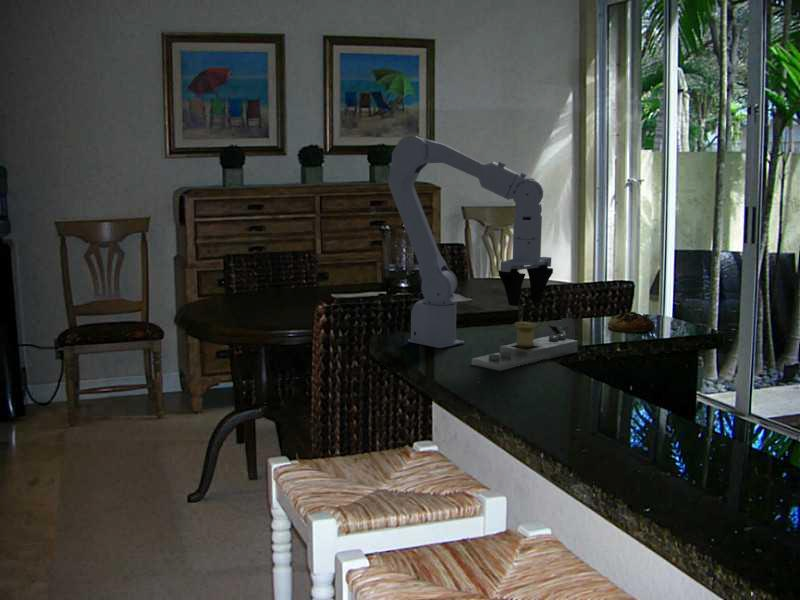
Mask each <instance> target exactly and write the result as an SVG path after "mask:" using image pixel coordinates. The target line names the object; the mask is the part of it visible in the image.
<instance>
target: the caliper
mask: <svg viewBox="0 0 800 600" xmlns="http://www.w3.org/2000/svg"><path fill="white" fill-rule="evenodd" d="M548 325H549V326H550V327H552V328H558V327H559V328H561V331H564V334H565V335H566V339H571V340H574V339H573V337H574V320H573V313H571V312H569V313H568V312H567V313H566V315H565V318H564V317H563V318H561V320H549V323H548Z"/></svg>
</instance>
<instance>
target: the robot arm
mask: <svg viewBox="0 0 800 600" xmlns="http://www.w3.org/2000/svg"><path fill="white" fill-rule="evenodd" d="M428 164H445V165H448V166H450V167H452V168H454V169H456V170H458V171H460V172H463V173H466V174H468V175H470V176H472V177H475V178H477V179H478V181H479V184H480V187H481V188H483V189H485V190H487V191H489V192H491V193H494V194H496V195H498V196H500V197H502V198H503V199H506V200H507V201H510V200H513V202H514V203H515V205H514V206H515V207H514V215H513V231H512V232H513V233H512V236H513V237H512V258H511V259H508V260H503V261H500V263H499V264H500V266H499V267H500V268H499V269H500V270H498V277H499V278H500V280H501V282H502V284H503V288H504V290H505V293H506V298H507V302H508V306H513V307H519V306H520V301H521V291H522V286H523V283H524V279H525V277H526V273H522V272H520V271H521V270H526V272H527V275H528V279H529V285H530V287H529V288H530V299H531V302H535V303H541V302H542V301H543V297H544V294H545V293H544V292H545V290H546V286H547V283H548V282H549V280H550V278H551V276H552V275H553V274H554V268H552V257H550V256H549V257H548V256H542V255H541V254H542V253H541V251H542V223H543V222H542V221H543V220H542V219H543V216H542V211H543V210H542V209H543V208H542V204H541V202H542V199H543V197H544V189H543V187H542V185H541V184H540V183H539V182H538V181H537V180H535V179H534V178H529V177H528V178H526V176H527V173H524V172H521V173H518V172H516V171H515V170H513V169H510V168H508V167H505V166H506V163H505V162H502V161H499V162H496V161H491V162H488V163H485V164H484V163H483V162H481V161H479V160H477V159H475V158H472V157H471V156H469V155H467V154H464V152H461V151H459V150H457V149H455V148H453V147H451V146H450V145H448V144H446V143H445V144H444V143H442V142H439V141H436V140H432V139H428V138H426V137H423V136H418V135H417V136H415V135H406V136H403V137H402V138H401V139H400V140H399V141H398V142H397V144H396V145H395V148H394V149H393V151H392V153H391V163H390V169H389V174H388V181H387V184H388V188H389V190H390V194H391V195H392V198H393V200H394V203H395V206H396V208H397V211H398V214H399V216H400V219H401V221H402V223H403V226H404V229H405V231H406V234H407V237H408V238H409V242H410V244H411V247H412V249H413V252H414V255H415V257H416V260H417V263H418V273H419V275H420V278H421V287H420V289H421V293H422V295H423V298H422V299H420V300H418V301H416V302H415V303H414V304H413V306H412V309H411V314H410V339H407V341H408V342H409V343H413V344H418V345H423V346H426V347H427V346H428V347H432V348H437V349H442V348H448V347H451V346H457V344H458V345H462V344H461V343H463V344H465V341H464V340H459V339H457V299H456V298H455V297H454V295H453V294H454V293H455V292H456V290H457V288H458V279H457V276H456V274H455V273H454V272H453V271H451V270H450V268H449V267H448V264H447V263H446V260H445V259H444V258H443V256H442V255H441V253H440V251H439V250H440V249H439V248H438V245H437V242H436V240H435V237H434V235H433V231H432V229H431V227H430V223H429V222H428V219H427V216H426V214H425V211H424V208H423V206H422V204H421V201H420V198H419V195H418V193H417V191H416V188H415V182H416V181H417V179H418V176H419V174H421V171H422V170H423V169H424V167H426V166H427V165H428Z"/></svg>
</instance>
